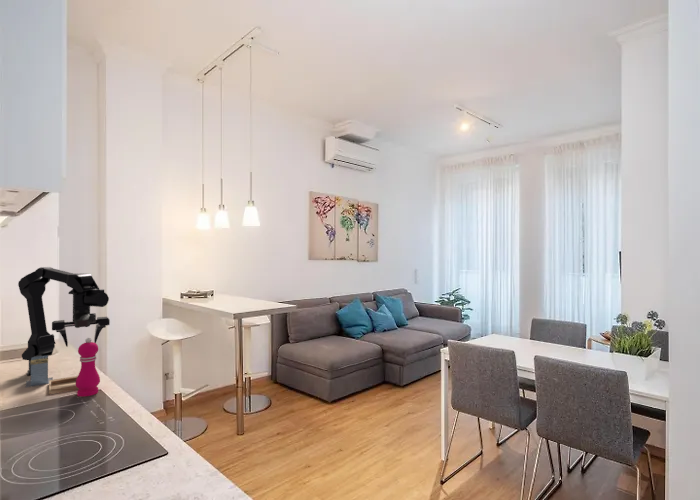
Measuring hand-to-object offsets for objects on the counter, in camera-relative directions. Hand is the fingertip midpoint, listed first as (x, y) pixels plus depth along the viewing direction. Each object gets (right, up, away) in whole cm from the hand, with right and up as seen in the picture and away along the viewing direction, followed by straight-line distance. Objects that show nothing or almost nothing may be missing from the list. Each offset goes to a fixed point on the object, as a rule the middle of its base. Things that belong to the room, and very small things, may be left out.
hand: (81, 344), depth 156 cm
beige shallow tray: (+2, -13, -11) cm, 17 cm away
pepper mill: (+14, -14, -17) cm, 26 cm away
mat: (-11, -13, -7) cm, 18 cm away
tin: (-11, -13, -7) cm, 18 cm away
